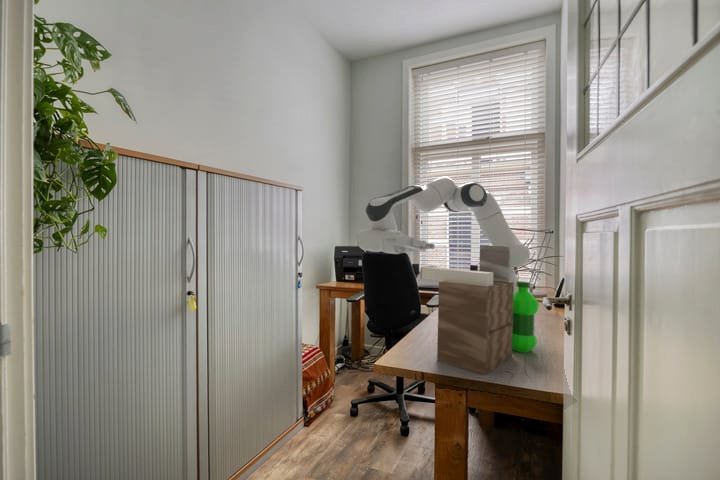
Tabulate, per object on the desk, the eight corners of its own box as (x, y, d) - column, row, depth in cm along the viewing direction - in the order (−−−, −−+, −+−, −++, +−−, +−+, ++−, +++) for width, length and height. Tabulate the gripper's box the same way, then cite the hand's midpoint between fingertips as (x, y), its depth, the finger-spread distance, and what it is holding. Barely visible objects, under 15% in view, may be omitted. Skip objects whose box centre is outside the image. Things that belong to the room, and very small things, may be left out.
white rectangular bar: (427, 277, 125) (427, 266, 125) (493, 285, 108) (493, 272, 108) (420, 278, 122) (420, 267, 122) (486, 286, 105) (487, 273, 105)
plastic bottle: (528, 357, 119) (530, 284, 119) (500, 348, 128) (502, 281, 127) (542, 351, 125) (544, 282, 125) (515, 343, 134) (516, 279, 133)
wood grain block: (468, 345, 130) (470, 244, 129) (511, 356, 119) (514, 246, 118) (437, 360, 114) (439, 245, 113) (484, 375, 103) (487, 247, 102)
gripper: (384, 230, 123) (420, 232, 116) (406, 237, 141) (439, 239, 134) (382, 247, 123) (418, 250, 116) (404, 252, 141) (437, 256, 134)
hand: (429, 245), depth 125 cm, fingers open, 8 cm apart
